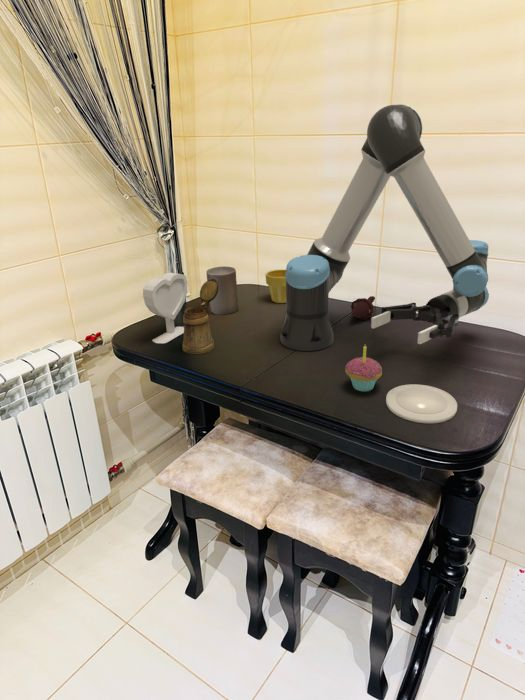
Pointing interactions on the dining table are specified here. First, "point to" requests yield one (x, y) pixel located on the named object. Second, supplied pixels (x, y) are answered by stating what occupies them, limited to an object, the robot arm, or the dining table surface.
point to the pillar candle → (224, 290)
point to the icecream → (363, 308)
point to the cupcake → (363, 372)
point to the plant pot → (277, 285)
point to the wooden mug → (200, 322)
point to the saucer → (421, 403)
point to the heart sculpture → (166, 301)
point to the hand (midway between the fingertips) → (394, 330)
